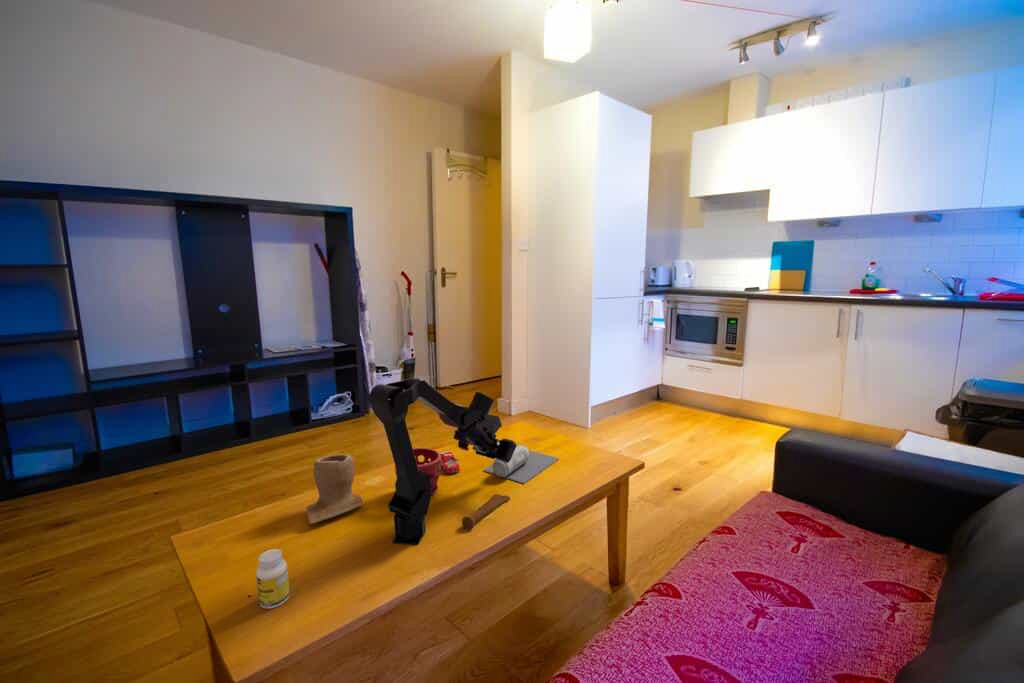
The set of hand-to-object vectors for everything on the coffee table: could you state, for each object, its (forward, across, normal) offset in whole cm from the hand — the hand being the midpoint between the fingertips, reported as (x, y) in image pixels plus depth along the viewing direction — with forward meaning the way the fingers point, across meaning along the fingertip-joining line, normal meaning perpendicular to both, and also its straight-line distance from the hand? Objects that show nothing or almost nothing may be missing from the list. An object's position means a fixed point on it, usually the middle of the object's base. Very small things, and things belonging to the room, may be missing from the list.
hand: (498, 457), depth 137 cm
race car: (+5, +20, +7) cm, 21 cm away
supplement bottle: (-41, +6, +52) cm, 67 cm away
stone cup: (-23, +27, +34) cm, 49 cm away
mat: (+15, 0, -4) cm, 15 cm away
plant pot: (-9, +14, +20) cm, 26 cm away
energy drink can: (+3, 0, +3) cm, 4 cm away
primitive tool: (-6, -8, +17) cm, 20 cm away
